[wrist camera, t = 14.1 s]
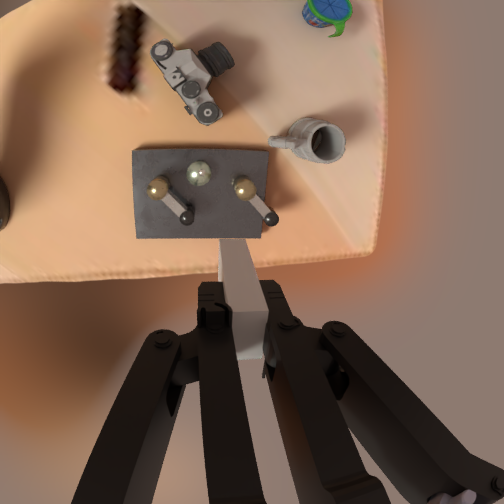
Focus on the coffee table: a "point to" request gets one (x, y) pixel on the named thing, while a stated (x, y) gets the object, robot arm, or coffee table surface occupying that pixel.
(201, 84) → the camera
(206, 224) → the control panel
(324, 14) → the snack cup
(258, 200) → the knob right
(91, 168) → the coffee table surface
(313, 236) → the coffee table surface
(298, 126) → the mug
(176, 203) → the knob left
